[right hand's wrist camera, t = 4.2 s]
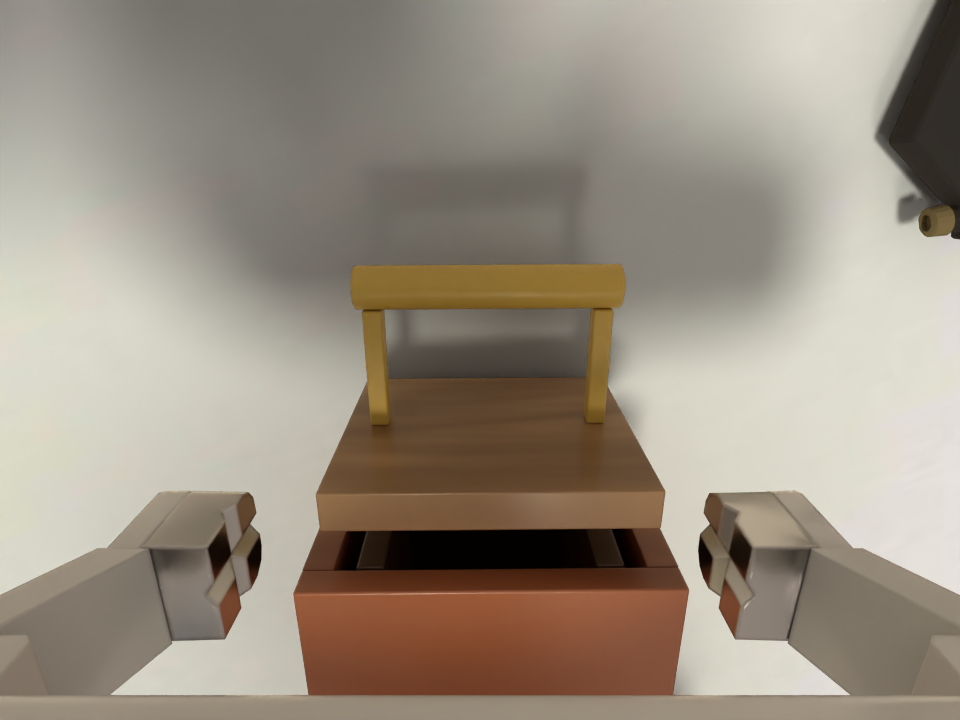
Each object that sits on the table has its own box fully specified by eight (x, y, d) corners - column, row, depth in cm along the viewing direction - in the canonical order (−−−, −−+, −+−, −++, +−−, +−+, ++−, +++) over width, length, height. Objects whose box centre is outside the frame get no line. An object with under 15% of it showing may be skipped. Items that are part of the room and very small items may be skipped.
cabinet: (361, 422, 24) (292, 593, 15) (608, 420, 24) (690, 589, 15) (392, 774, 32) (358, 1030, 22) (579, 771, 32) (621, 1025, 23)
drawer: (357, 245, 20) (291, 301, 13) (613, 243, 21) (691, 299, 13) (397, 745, 29) (371, 946, 22) (574, 743, 30) (608, 942, 22)
